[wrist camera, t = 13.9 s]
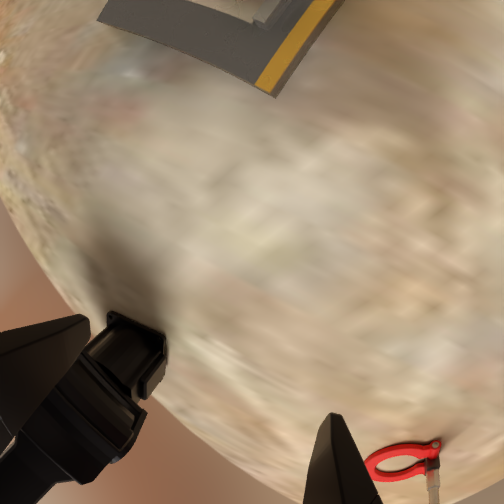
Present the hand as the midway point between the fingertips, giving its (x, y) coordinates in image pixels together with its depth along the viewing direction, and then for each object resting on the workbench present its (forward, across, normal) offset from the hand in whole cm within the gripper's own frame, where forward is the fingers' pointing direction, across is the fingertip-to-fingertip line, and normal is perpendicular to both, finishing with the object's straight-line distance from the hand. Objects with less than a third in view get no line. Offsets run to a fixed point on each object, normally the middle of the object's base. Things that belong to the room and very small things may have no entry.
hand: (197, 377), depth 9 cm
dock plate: (+13, +7, -21) cm, 26 cm away
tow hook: (+13, -22, +20) cm, 33 cm away
